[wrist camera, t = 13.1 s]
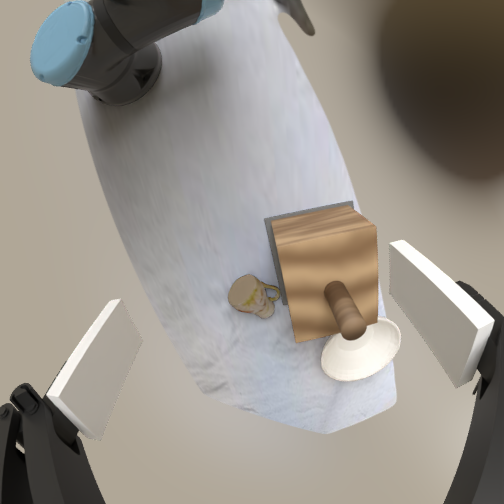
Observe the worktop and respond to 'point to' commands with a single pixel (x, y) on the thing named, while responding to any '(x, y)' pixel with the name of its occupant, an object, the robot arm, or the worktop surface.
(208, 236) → the worktop surface
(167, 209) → the worktop surface
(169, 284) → the worktop surface
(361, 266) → the wooden block with knob
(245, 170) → the worktop surface
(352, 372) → the bowl
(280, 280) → the mat
